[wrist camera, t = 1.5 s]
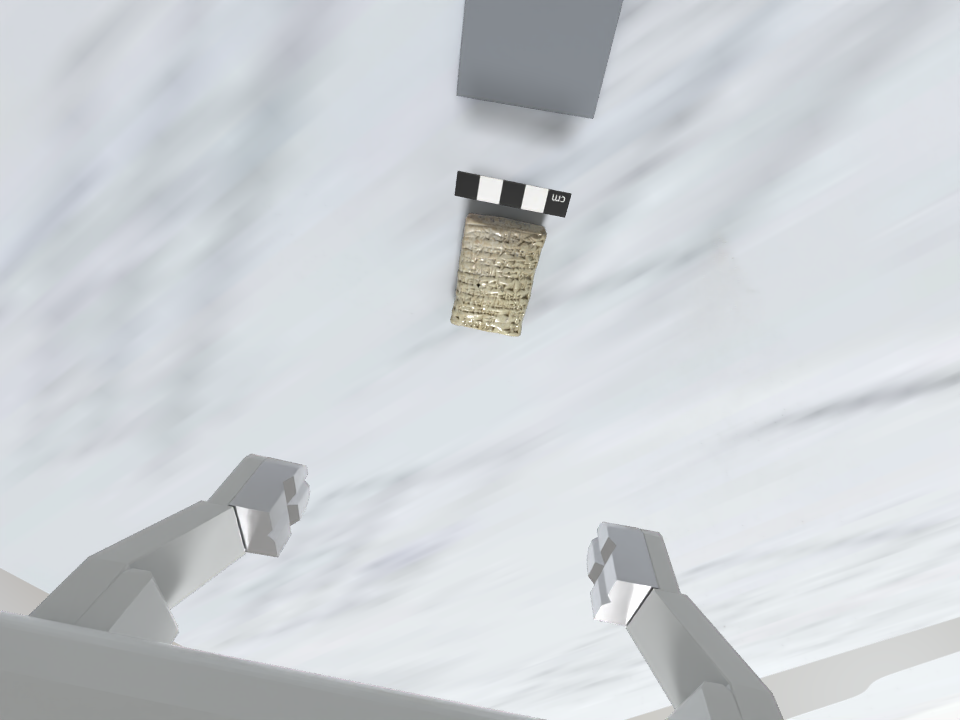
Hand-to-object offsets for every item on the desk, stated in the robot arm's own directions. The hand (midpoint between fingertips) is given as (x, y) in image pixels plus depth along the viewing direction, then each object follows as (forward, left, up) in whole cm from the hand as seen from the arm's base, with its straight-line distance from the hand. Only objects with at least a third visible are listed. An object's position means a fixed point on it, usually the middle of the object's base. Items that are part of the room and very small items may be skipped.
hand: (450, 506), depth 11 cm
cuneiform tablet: (0, -6, -22) cm, 22 cm away
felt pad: (+1, -15, -24) cm, 28 cm away
